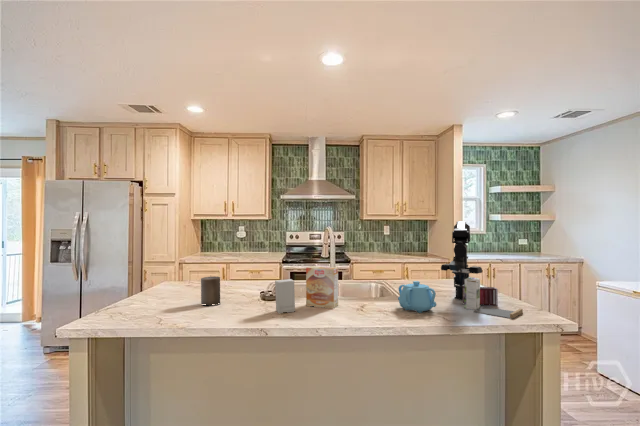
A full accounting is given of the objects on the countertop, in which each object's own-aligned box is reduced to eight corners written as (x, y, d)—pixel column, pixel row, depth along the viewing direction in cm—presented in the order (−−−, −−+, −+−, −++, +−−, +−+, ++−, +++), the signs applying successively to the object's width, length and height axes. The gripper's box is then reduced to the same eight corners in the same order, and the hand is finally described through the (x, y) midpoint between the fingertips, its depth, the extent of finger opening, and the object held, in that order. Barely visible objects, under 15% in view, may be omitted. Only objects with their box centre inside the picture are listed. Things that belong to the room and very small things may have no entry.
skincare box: (291, 309, 179) (291, 278, 179) (295, 312, 174) (295, 280, 174) (274, 310, 176) (274, 279, 177) (277, 313, 171) (277, 281, 171)
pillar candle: (224, 303, 193) (224, 274, 193) (209, 307, 185) (209, 277, 185) (211, 301, 198) (211, 273, 198) (196, 305, 190) (196, 275, 190)
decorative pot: (430, 306, 184) (430, 278, 184) (438, 314, 168) (437, 284, 168) (397, 305, 186) (397, 278, 186) (401, 313, 170) (401, 284, 170)
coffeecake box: (305, 306, 185) (305, 267, 185) (311, 303, 192) (311, 265, 192) (333, 308, 179) (333, 268, 180) (338, 305, 186) (338, 267, 186)
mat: (473, 312, 171) (473, 307, 171) (484, 307, 181) (484, 303, 181) (513, 318, 159) (512, 314, 159) (522, 313, 169) (522, 309, 169)
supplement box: (494, 287, 188) (462, 286, 190) (498, 288, 184) (465, 288, 185) (494, 303, 188) (462, 303, 190) (497, 306, 183) (465, 305, 185)
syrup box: (468, 306, 183) (467, 276, 183) (480, 308, 179) (480, 278, 179) (464, 308, 179) (463, 278, 179) (477, 310, 175) (476, 279, 175)
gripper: (435, 254, 184) (435, 285, 184) (472, 257, 171) (472, 290, 170) (446, 252, 192) (446, 283, 192) (482, 255, 179) (482, 287, 178)
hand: (461, 286), depth 183 cm, fingers closed
